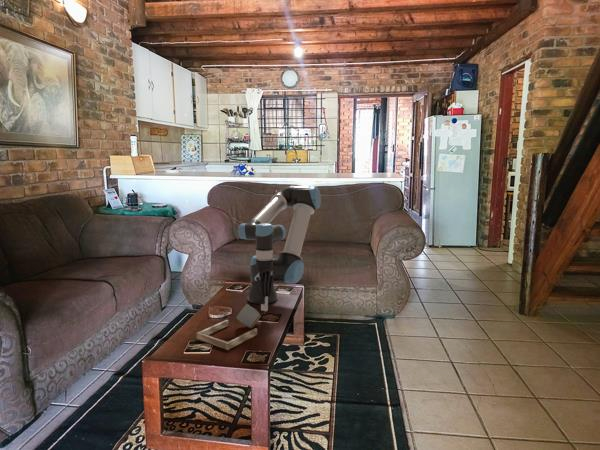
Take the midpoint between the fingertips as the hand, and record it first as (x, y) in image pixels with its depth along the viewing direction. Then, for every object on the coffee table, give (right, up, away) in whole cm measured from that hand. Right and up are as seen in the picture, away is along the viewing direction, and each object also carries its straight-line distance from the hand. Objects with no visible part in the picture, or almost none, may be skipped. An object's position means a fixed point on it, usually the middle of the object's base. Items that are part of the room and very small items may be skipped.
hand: (264, 310), depth 186 cm
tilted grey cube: (-5, -5, -7) cm, 10 cm away
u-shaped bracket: (-13, -7, -19) cm, 24 cm away
